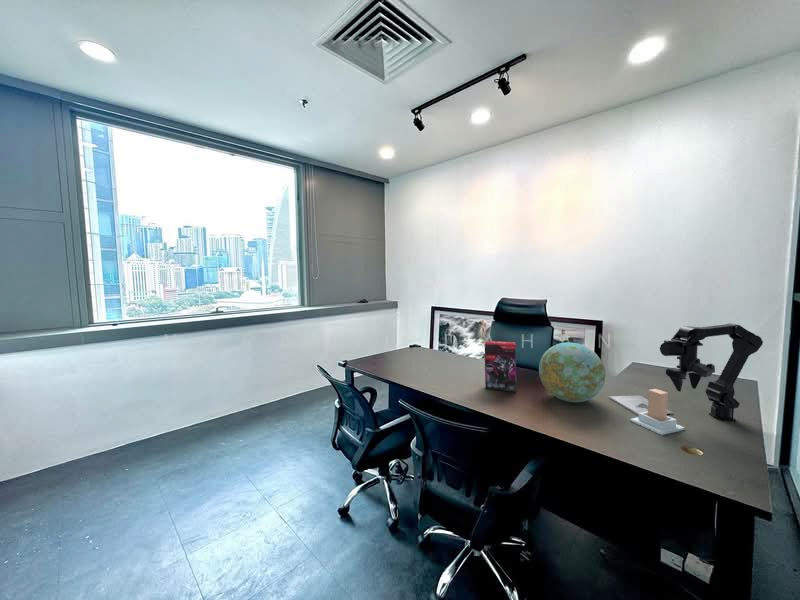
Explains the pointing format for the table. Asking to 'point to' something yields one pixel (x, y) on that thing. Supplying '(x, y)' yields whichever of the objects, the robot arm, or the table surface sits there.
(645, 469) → the table surface
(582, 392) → the decorative globe
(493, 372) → the graphics card box
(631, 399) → the play button award
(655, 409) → the tall salmon pillar
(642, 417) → the white square socket base
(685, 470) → the table surface
